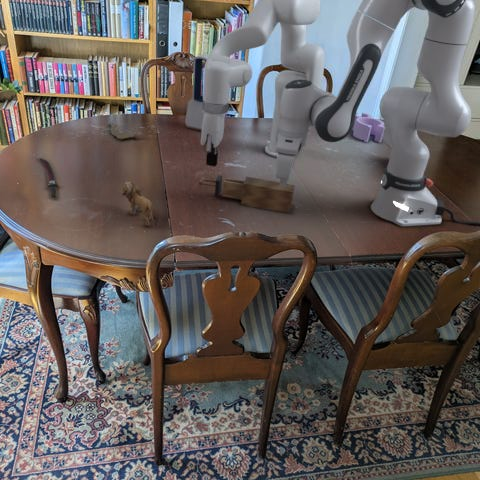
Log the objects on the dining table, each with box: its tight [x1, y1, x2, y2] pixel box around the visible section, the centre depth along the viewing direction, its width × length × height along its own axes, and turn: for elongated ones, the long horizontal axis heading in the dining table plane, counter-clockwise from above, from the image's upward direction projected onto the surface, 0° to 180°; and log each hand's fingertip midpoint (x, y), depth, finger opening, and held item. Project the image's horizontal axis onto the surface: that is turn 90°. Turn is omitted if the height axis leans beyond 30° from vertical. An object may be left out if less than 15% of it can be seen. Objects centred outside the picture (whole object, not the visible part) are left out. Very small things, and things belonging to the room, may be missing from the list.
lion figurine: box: [119, 181, 159, 227], centre depth 134 cm, size 15×5×9 cm, turn 50°
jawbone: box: [109, 121, 143, 140], centre depth 188 cm, size 9×20×2 cm, turn 50°
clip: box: [352, 112, 386, 143], centre depth 214 cm, size 20×12×7 cm, turn 11°
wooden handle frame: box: [197, 175, 245, 200], centre depth 149 cm, size 20×4×6 cm, turn 78°
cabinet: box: [240, 176, 296, 214], centre depth 147 cm, size 16×5×7 cm, turn 78°
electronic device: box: [184, 53, 210, 132], centre depth 194 cm, size 12×8×30 cm, turn 71°
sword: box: [40, 158, 59, 198], centre depth 151 cm, size 31×3×1 cm, turn 26°
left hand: (211, 164), depth 146 cm, fingers closed
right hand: (285, 179), depth 144 cm, fingers open, 8 cm apart
